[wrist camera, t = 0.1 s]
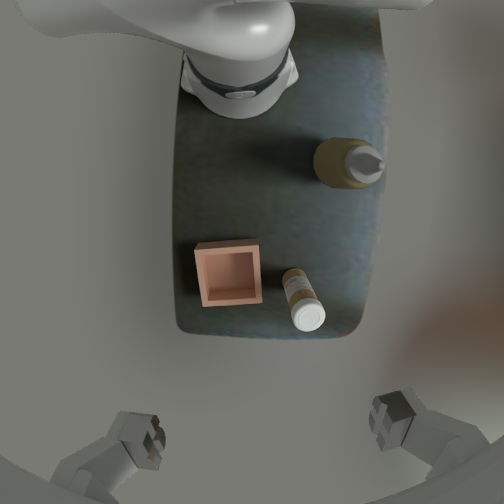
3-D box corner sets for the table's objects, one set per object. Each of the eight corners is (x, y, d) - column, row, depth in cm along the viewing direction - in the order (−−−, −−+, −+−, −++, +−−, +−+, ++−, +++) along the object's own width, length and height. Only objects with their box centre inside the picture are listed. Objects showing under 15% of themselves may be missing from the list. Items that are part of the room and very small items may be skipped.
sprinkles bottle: (287, 294, 50) (300, 337, 37) (277, 274, 49) (287, 313, 36) (310, 283, 50) (330, 323, 37) (300, 262, 48) (319, 298, 36)
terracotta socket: (198, 242, 47) (194, 250, 43) (257, 238, 47) (258, 245, 43) (205, 295, 50) (202, 306, 46) (261, 292, 50) (262, 302, 46)
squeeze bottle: (337, 130, 41) (389, 116, 24) (361, 171, 43) (421, 180, 26) (298, 154, 43) (331, 149, 25) (323, 195, 45) (368, 216, 28)
